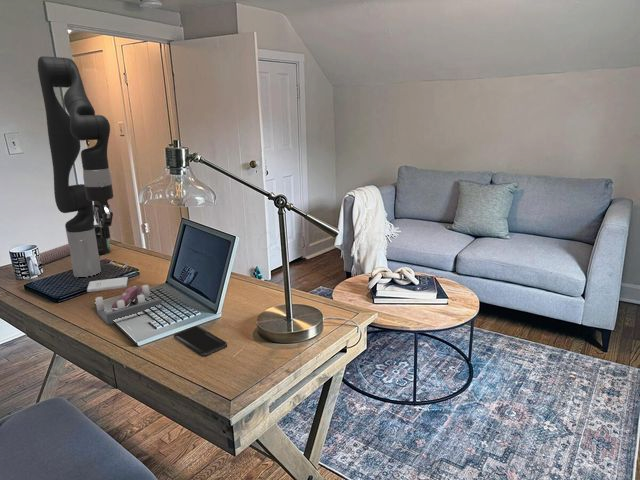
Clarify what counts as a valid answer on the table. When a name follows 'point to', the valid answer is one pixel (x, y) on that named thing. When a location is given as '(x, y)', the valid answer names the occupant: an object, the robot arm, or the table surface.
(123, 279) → the external hard drive
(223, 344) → the phone
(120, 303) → the dock
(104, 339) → the table surface
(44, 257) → the pink brown cylinder
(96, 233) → the supplement bottle
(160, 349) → the table surface
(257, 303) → the table surface
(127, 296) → the purple rounded block
